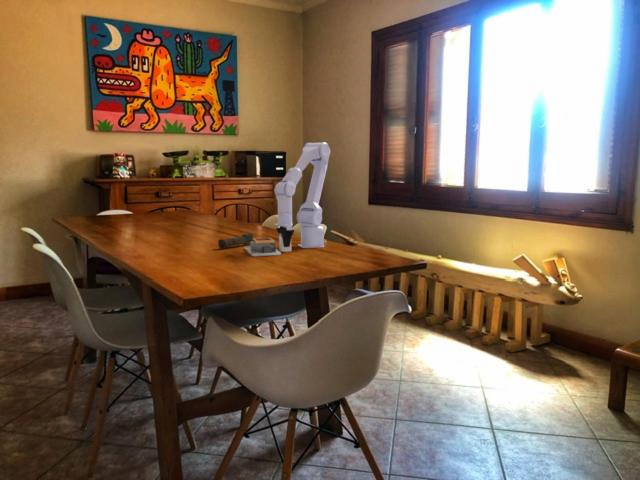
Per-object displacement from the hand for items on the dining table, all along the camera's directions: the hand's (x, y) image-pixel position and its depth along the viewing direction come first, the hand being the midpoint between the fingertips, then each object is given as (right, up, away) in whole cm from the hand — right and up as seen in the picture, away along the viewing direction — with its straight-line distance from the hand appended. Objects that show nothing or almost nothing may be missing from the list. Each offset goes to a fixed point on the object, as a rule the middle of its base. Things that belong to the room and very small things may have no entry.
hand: (285, 245), depth 207 cm
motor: (-9, -2, -2) cm, 9 cm away
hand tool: (-25, -4, +7) cm, 26 cm away
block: (0, -2, 0) cm, 2 cm away
